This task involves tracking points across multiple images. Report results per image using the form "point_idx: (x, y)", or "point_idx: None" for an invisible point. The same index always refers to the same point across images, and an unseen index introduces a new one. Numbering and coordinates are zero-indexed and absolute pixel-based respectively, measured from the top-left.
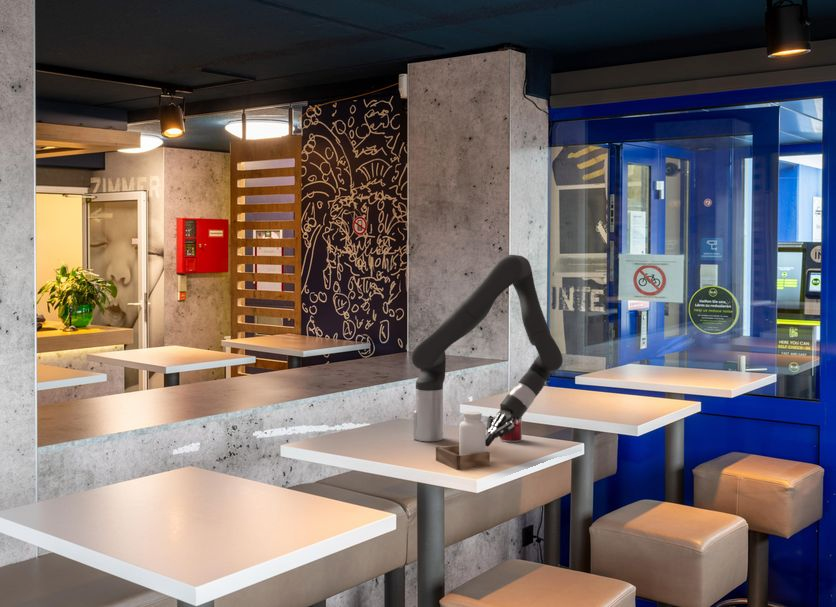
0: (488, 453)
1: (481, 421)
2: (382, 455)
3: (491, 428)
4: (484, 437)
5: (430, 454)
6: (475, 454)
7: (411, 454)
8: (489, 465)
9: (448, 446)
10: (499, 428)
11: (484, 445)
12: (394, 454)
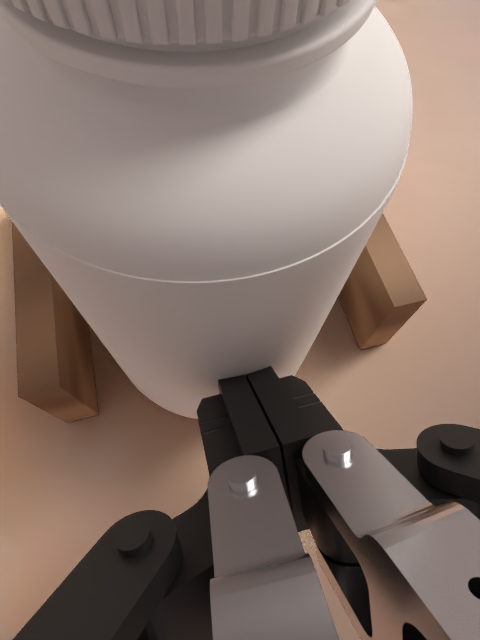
0: (23, 384)
1: (156, 147)
2: (428, 3)
3: (345, 491)
4: (89, 319)
5: (450, 160)
6: (15, 263)
7: (449, 89)
8: (67, 419)
9: None
10: (87, 627)
11: (115, 356)
12: (448, 37)
